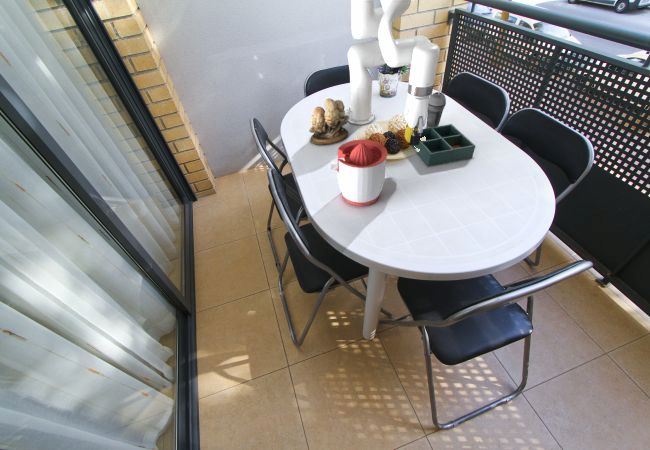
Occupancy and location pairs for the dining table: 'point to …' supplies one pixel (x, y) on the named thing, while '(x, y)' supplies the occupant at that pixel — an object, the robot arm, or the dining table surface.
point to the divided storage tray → (444, 145)
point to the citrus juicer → (361, 171)
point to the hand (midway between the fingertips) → (412, 139)
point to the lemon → (409, 133)
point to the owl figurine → (329, 123)
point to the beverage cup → (435, 108)
